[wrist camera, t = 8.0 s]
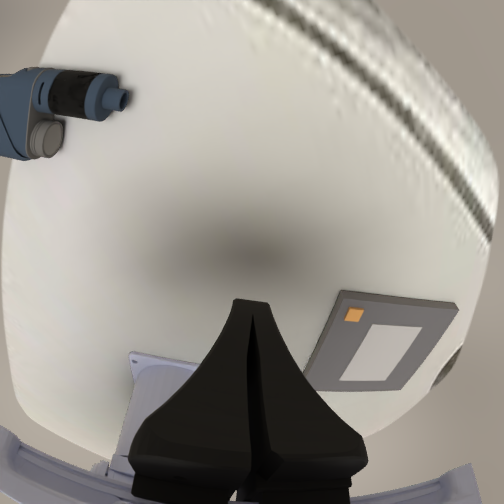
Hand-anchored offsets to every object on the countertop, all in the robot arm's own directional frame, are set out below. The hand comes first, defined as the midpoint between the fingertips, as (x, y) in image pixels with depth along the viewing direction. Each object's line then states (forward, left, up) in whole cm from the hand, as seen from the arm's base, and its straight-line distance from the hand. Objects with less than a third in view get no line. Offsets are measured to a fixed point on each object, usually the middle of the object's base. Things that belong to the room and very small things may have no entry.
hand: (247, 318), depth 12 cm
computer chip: (-7, -11, -6) cm, 14 cm away
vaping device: (+8, +19, -4) cm, 21 cm away
